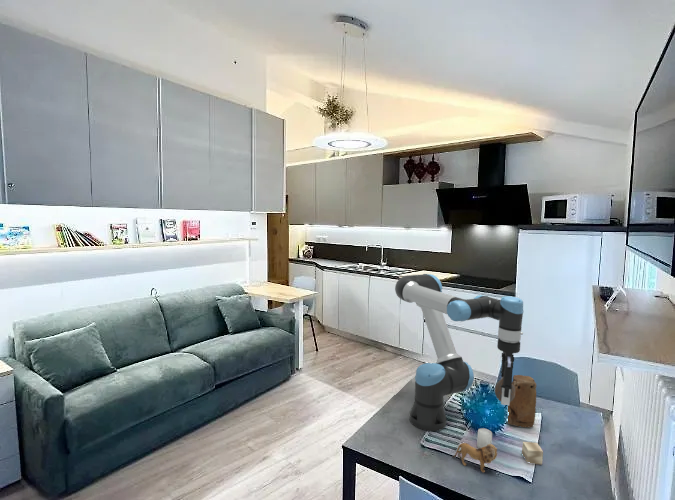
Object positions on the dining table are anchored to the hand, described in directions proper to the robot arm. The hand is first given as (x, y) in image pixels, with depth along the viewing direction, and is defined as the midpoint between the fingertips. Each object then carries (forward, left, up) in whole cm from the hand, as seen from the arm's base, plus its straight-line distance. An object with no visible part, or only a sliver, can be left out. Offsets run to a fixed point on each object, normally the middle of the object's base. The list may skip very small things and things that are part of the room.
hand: (504, 399), depth 140 cm
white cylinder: (-6, -2, -19) cm, 20 cm away
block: (+8, +21, -19) cm, 30 cm away
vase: (0, 0, 0) cm, 0 cm away
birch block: (+10, -3, -19) cm, 22 cm away
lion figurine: (-9, -14, -19) cm, 26 cm away
